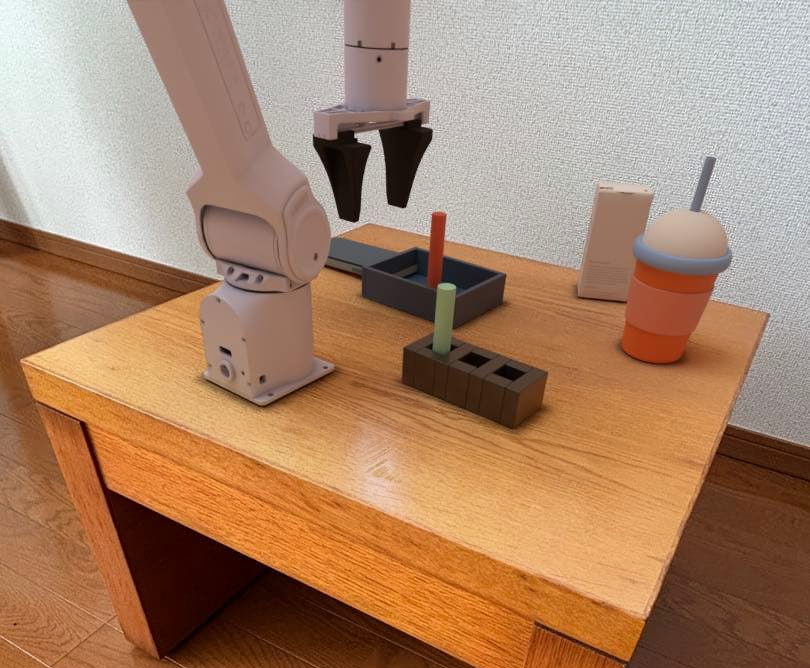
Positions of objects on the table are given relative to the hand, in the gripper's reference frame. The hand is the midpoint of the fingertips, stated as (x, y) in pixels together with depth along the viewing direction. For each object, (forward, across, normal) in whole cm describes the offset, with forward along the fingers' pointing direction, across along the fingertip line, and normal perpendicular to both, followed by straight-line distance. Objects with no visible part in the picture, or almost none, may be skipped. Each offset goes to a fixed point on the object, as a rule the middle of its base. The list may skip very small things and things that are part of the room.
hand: (373, 212), depth 67 cm
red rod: (+10, +8, -3) cm, 13 cm away
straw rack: (+10, -8, -19) cm, 23 cm away
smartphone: (+10, +10, +10) cm, 18 cm away
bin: (+10, +8, -3) cm, 13 cm away
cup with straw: (+10, +13, -28) cm, 32 cm away
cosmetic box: (+10, +24, -17) cm, 31 cm away
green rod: (+10, -8, -15) cm, 20 cm away
